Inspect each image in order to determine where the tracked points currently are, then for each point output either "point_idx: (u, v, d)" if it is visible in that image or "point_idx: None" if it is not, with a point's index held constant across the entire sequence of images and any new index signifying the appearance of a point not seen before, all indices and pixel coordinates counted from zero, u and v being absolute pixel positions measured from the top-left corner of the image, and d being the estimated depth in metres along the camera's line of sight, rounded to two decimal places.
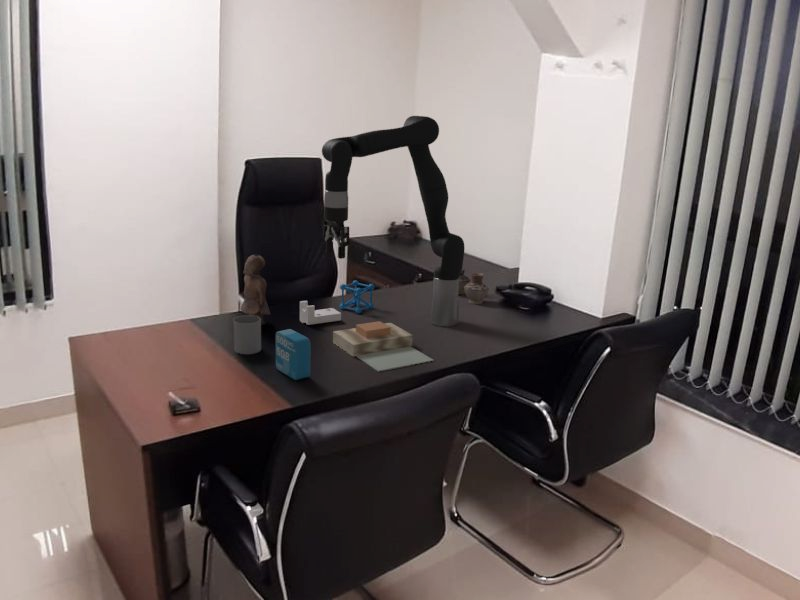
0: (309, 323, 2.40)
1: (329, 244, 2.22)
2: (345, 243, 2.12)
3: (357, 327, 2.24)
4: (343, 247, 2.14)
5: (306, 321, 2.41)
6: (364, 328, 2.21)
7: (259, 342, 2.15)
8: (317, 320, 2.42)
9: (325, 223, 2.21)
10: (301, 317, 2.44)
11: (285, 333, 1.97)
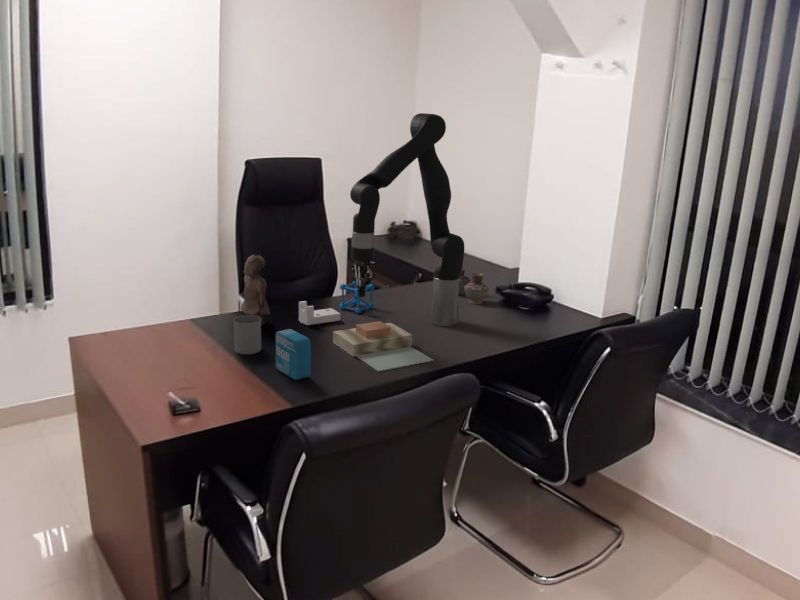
0: (308, 323, 2.40)
1: None
2: (366, 283, 2.24)
3: (357, 327, 2.24)
4: (363, 286, 2.26)
5: (305, 321, 2.41)
6: (364, 328, 2.21)
7: (259, 342, 2.15)
8: (317, 320, 2.42)
9: (352, 267, 2.30)
10: (300, 317, 2.44)
11: (285, 333, 1.97)
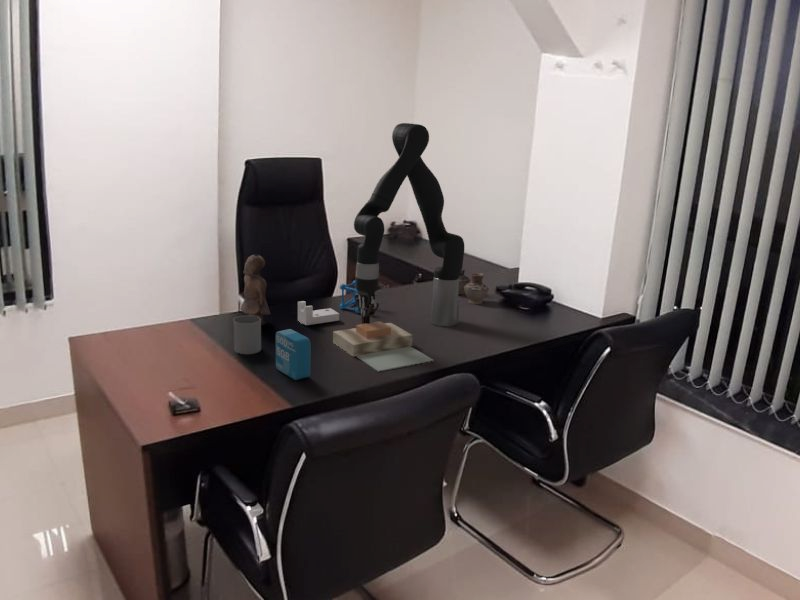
0: (307, 323, 2.40)
1: None
2: (370, 313, 2.24)
3: (357, 327, 2.24)
4: (368, 316, 2.26)
5: (304, 321, 2.40)
6: (364, 329, 2.21)
7: (259, 342, 2.15)
8: (315, 320, 2.41)
9: (357, 296, 2.29)
10: (299, 317, 2.44)
11: (285, 333, 1.97)
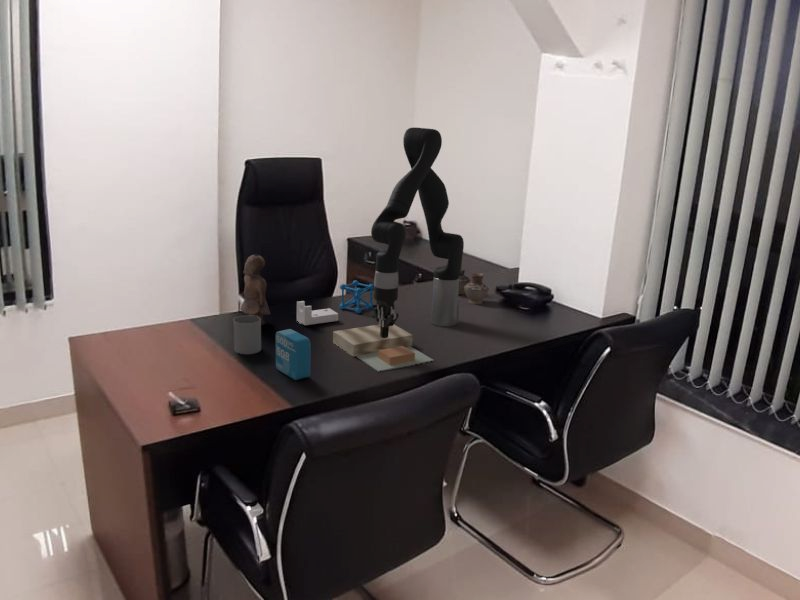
0: (306, 323, 2.40)
1: None
2: (389, 324, 2.14)
3: (388, 362, 2.09)
4: (387, 327, 2.16)
5: (303, 321, 2.40)
6: None
7: (259, 342, 2.15)
8: (314, 320, 2.41)
9: (375, 306, 2.19)
10: (298, 317, 2.44)
11: (285, 333, 1.97)
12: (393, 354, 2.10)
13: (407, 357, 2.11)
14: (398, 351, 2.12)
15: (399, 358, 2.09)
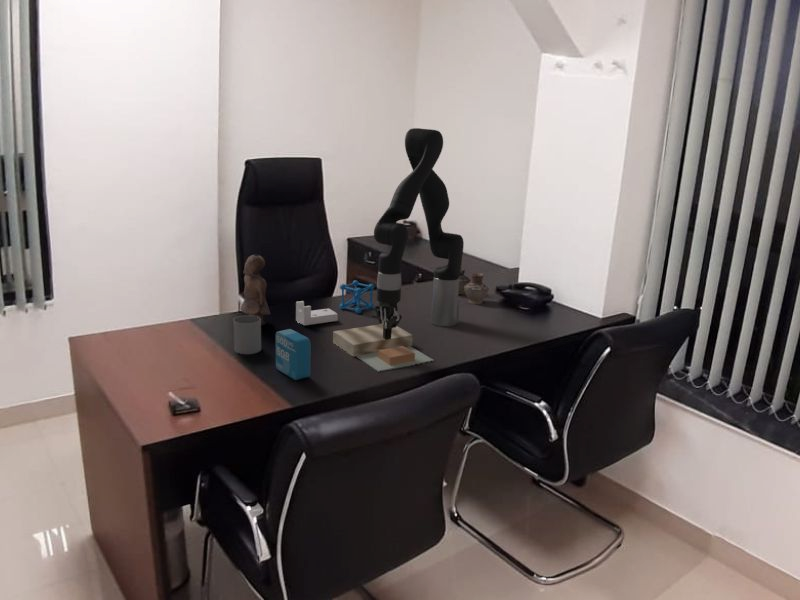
0: (305, 324, 2.40)
1: None
2: (392, 325, 2.13)
3: (388, 362, 2.09)
4: (390, 329, 2.15)
5: (302, 322, 2.40)
6: None
7: (259, 342, 2.15)
8: (314, 320, 2.41)
9: (377, 308, 2.18)
10: (297, 317, 2.44)
11: (285, 333, 1.97)
12: (393, 354, 2.10)
13: (407, 357, 2.11)
14: (398, 351, 2.12)
15: (399, 358, 2.09)
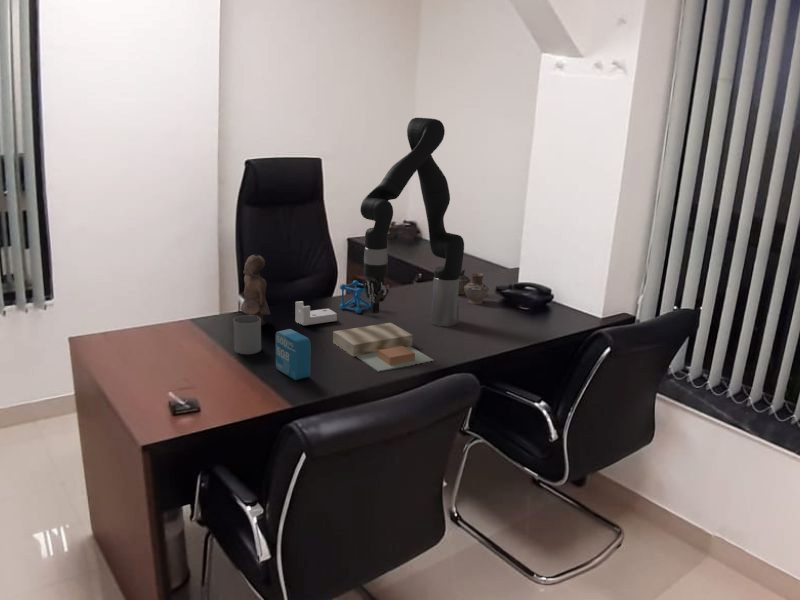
0: (305, 324, 2.40)
1: None
2: (379, 300, 2.19)
3: (388, 362, 2.09)
4: (377, 303, 2.20)
5: (302, 322, 2.40)
6: None
7: (259, 342, 2.15)
8: (313, 320, 2.41)
9: (365, 283, 2.24)
10: (297, 318, 2.44)
11: (285, 333, 1.97)
12: (393, 354, 2.10)
13: (407, 357, 2.11)
14: (398, 351, 2.12)
15: (399, 358, 2.09)
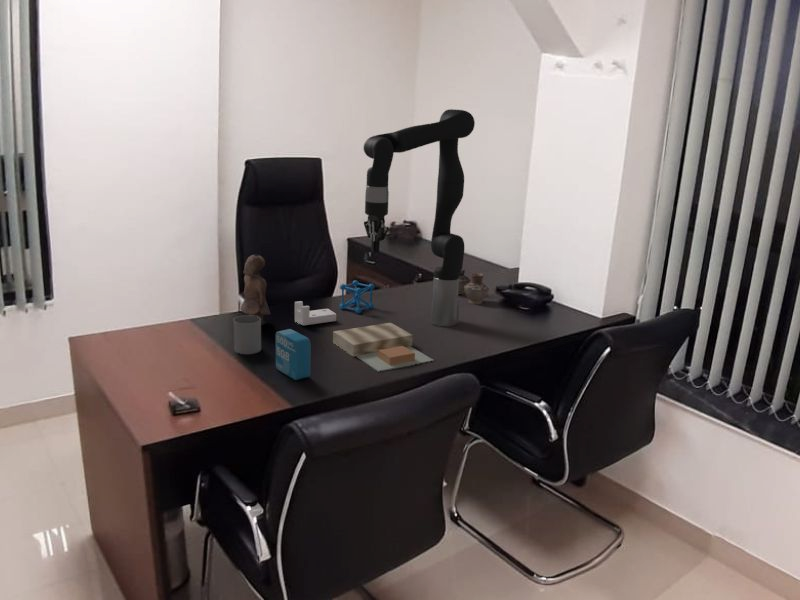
0: (304, 324, 2.40)
1: None
2: (380, 238, 2.23)
3: (388, 362, 2.09)
4: (377, 242, 2.25)
5: (301, 322, 2.40)
6: None
7: (259, 342, 2.15)
8: (312, 320, 2.41)
9: (366, 223, 2.28)
10: (296, 318, 2.44)
11: (285, 333, 1.97)
12: (393, 354, 2.10)
13: (407, 357, 2.11)
14: (398, 351, 2.12)
15: (399, 358, 2.09)
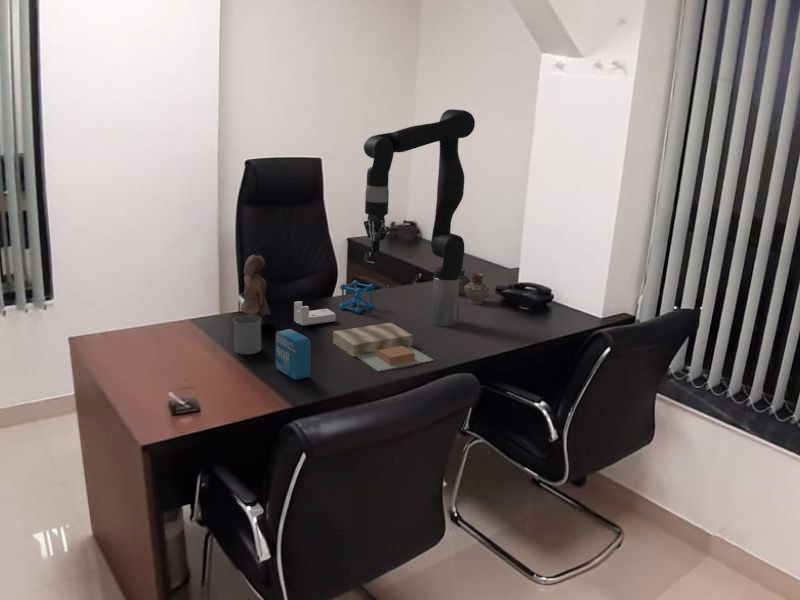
0: (303, 324, 2.40)
1: None
2: (380, 238, 2.23)
3: (388, 362, 2.09)
4: (377, 241, 2.25)
5: (300, 322, 2.40)
6: None
7: (259, 342, 2.15)
8: (312, 320, 2.41)
9: (366, 223, 2.28)
10: (295, 318, 2.43)
11: (285, 333, 1.97)
12: (393, 354, 2.10)
13: (407, 357, 2.11)
14: (398, 351, 2.12)
15: (399, 358, 2.09)
